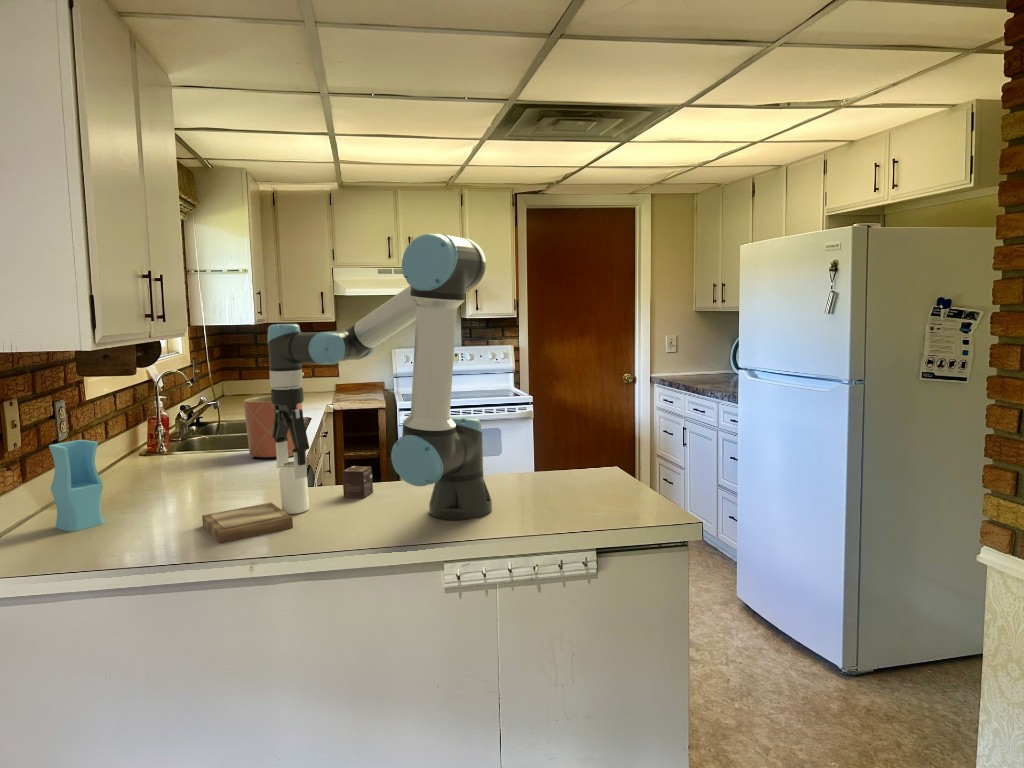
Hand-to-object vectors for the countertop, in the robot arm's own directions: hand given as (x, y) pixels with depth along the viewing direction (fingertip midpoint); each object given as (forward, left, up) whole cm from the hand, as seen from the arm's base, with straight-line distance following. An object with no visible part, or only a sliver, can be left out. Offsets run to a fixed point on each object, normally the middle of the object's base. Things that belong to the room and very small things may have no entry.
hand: (291, 472), depth 172 cm
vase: (+24, +44, -10) cm, 51 cm away
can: (0, 0, -10) cm, 10 cm away
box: (+3, -18, -10) cm, 21 cm away
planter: (+73, -18, -10) cm, 76 cm away
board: (-5, +13, -10) cm, 17 cm away
